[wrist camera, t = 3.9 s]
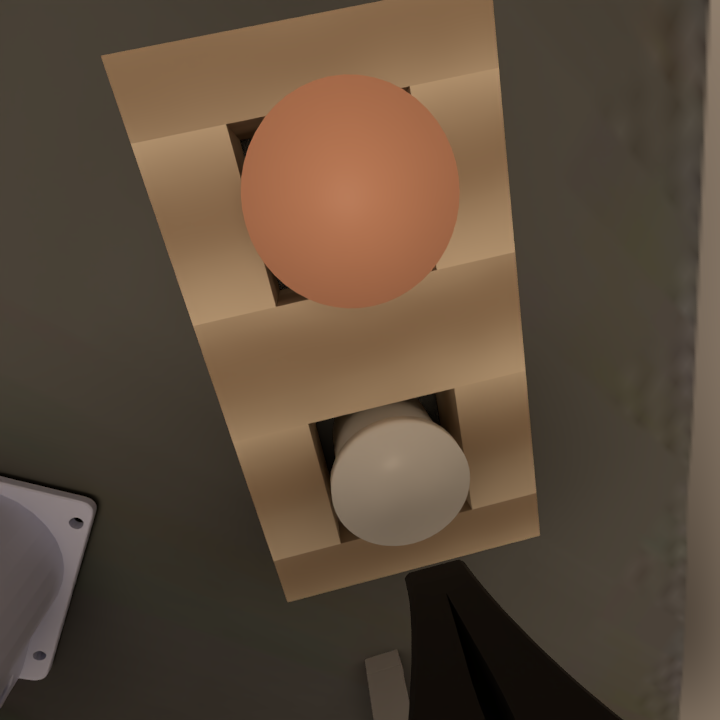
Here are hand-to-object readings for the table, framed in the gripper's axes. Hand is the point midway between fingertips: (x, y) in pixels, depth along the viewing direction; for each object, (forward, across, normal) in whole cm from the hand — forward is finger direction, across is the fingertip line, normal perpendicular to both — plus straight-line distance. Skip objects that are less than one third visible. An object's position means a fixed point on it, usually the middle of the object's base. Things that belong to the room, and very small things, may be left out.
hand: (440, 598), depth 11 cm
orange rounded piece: (+6, 0, -9) cm, 11 cm away
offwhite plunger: (+9, 0, 0) cm, 9 cm away
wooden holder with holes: (+9, 0, -4) cm, 10 cm away
